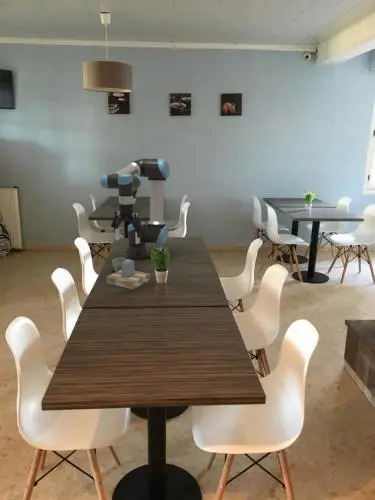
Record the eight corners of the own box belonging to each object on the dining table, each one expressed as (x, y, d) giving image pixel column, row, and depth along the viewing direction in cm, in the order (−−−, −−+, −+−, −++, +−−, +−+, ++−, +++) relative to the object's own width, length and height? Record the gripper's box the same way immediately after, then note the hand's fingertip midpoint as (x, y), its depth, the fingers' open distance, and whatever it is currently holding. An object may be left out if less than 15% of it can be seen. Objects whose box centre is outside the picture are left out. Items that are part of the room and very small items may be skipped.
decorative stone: (127, 274, 246) (132, 259, 249) (109, 269, 243) (114, 253, 247) (124, 278, 258) (128, 263, 261) (107, 273, 255) (111, 258, 259)
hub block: (124, 275, 246) (124, 268, 245) (149, 280, 237) (149, 273, 236) (106, 283, 232) (106, 276, 231) (133, 289, 224) (132, 282, 223)
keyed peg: (122, 282, 233) (121, 261, 230) (128, 279, 238) (128, 258, 235) (128, 284, 231) (127, 262, 228) (134, 280, 236) (134, 259, 233)
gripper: (103, 202, 226) (105, 240, 232) (141, 206, 214) (142, 246, 220) (112, 200, 232) (113, 237, 238) (149, 204, 221) (150, 243, 227)
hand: (127, 241), depth 229 cm, fingers open, 13 cm apart
